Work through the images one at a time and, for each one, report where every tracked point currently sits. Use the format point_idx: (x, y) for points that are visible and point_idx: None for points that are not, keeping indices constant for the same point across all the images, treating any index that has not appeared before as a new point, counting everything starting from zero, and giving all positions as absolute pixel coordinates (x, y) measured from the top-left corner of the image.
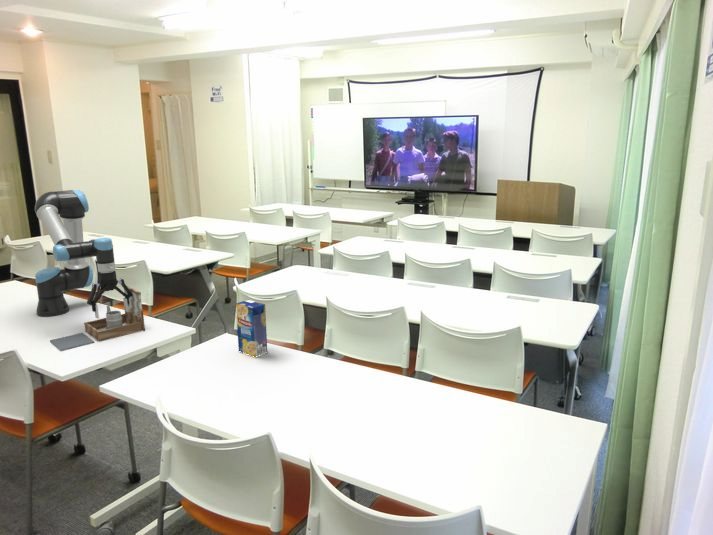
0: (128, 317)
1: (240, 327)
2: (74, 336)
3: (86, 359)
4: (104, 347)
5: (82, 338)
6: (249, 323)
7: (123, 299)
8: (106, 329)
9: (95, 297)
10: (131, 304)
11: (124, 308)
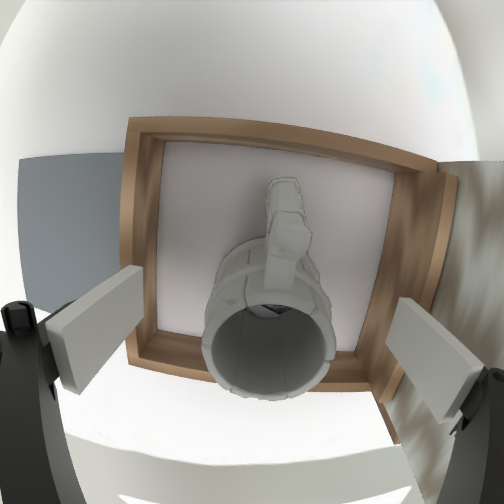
0: (410, 229)
1: None
2: (81, 187)
3: (88, 417)
4: (148, 399)
5: (96, 250)
6: None
7: (460, 362)
8: (217, 272)
9: (10, 420)
10: (476, 307)
11: (409, 309)
